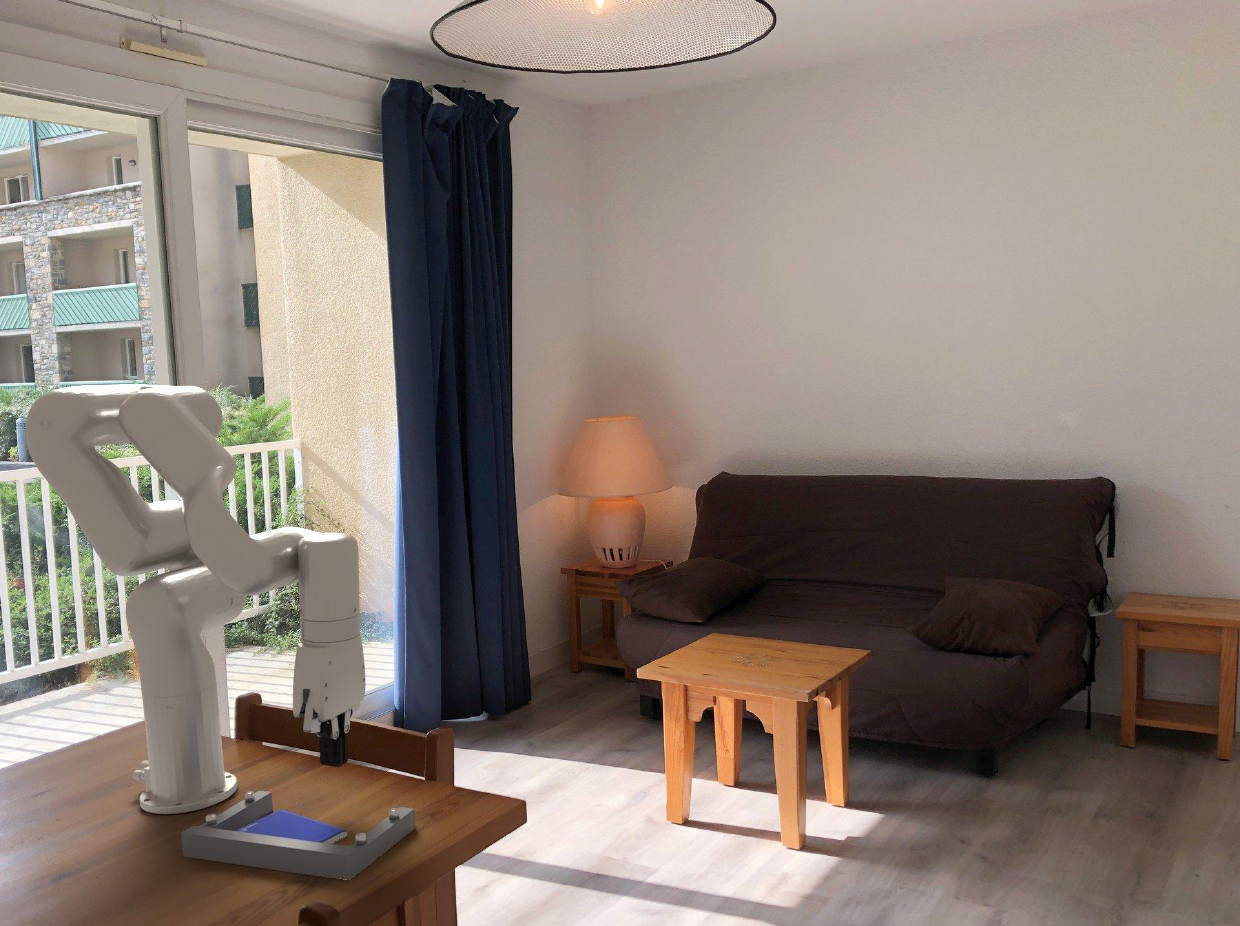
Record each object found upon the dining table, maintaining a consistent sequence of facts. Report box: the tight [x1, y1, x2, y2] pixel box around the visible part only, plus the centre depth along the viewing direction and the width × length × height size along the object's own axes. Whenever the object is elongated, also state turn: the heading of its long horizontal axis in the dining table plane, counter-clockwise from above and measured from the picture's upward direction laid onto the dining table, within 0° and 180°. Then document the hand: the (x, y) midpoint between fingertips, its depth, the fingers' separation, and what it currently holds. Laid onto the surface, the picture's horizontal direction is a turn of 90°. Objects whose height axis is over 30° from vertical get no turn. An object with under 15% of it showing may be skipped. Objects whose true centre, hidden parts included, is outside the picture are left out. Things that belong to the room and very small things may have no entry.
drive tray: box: [180, 790, 416, 881], centre depth 127 cm, size 24×14×4 cm, turn 70°
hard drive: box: [236, 809, 348, 844], centre depth 129 cm, size 2×8×12 cm
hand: (333, 763), depth 136 cm, fingers closed
